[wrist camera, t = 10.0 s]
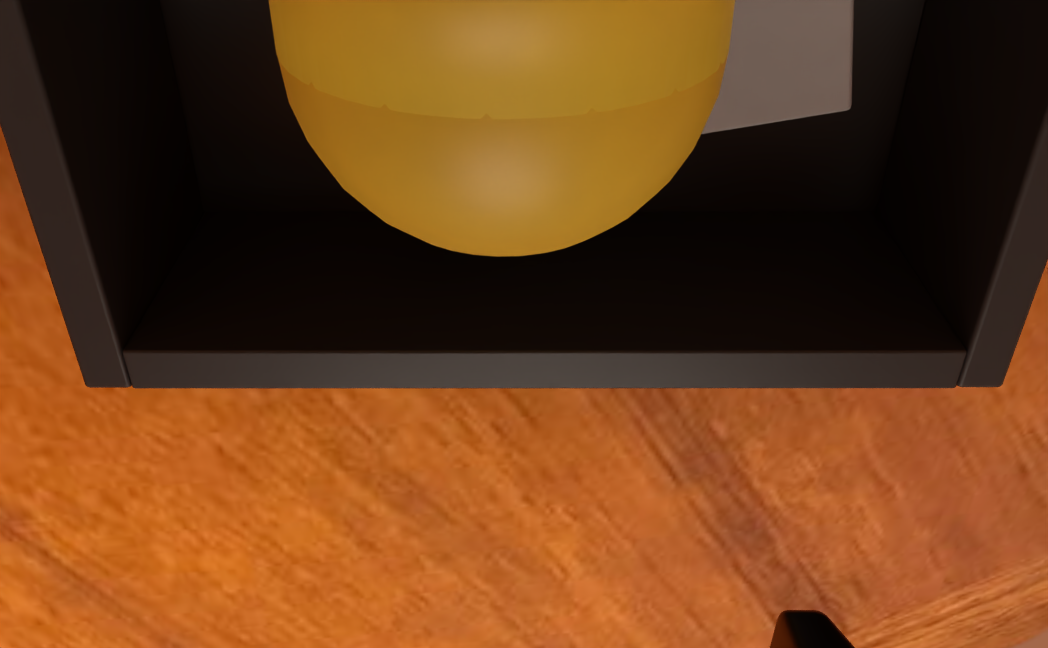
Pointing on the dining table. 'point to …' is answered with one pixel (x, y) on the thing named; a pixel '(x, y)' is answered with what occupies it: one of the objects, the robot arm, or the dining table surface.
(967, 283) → the box
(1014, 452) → the dining table surface
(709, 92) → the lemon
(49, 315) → the dining table surface
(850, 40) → the grey block
